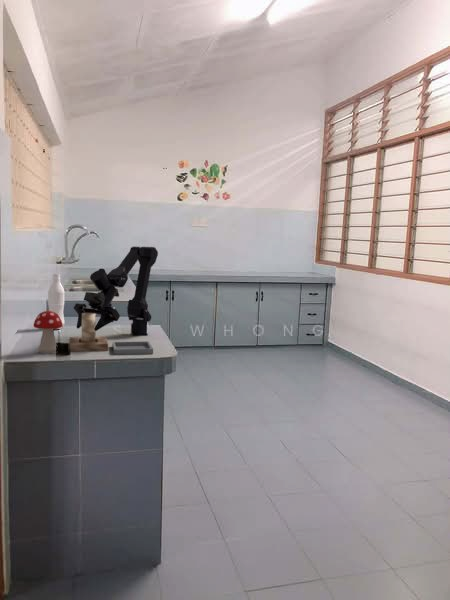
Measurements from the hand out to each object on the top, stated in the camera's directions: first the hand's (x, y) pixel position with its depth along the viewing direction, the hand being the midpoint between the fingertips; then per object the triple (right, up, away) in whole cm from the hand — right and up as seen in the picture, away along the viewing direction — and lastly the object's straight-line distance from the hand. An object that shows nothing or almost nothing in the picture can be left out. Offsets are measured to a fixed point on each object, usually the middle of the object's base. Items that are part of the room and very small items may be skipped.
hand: (86, 329), depth 189 cm
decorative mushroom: (-11, -8, -9) cm, 17 cm away
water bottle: (-24, -2, +38) cm, 45 cm away
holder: (0, -7, +2) cm, 7 cm away
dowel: (0, -7, +2) cm, 7 cm away
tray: (+18, -8, 0) cm, 19 cm away
